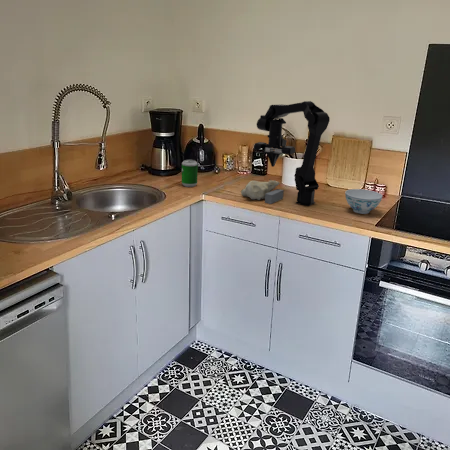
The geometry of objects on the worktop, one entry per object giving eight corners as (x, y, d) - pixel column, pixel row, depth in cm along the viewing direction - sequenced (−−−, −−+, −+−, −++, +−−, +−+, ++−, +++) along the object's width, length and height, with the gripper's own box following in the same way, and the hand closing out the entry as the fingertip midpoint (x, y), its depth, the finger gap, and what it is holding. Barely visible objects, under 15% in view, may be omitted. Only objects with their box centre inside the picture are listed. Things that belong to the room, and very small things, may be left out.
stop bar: (282, 198, 207) (283, 190, 206) (270, 204, 199) (271, 195, 198) (277, 197, 209) (277, 188, 208) (264, 202, 200) (265, 193, 199)
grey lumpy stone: (237, 204, 203) (262, 188, 194) (233, 190, 206) (257, 173, 196) (260, 209, 214) (284, 194, 204) (256, 195, 216) (280, 180, 207)
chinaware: (335, 207, 198) (338, 190, 196) (364, 204, 204) (366, 188, 201) (357, 218, 185) (360, 200, 183) (387, 215, 191) (390, 197, 188)
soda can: (200, 185, 224) (200, 160, 219) (191, 188, 217) (191, 163, 213) (187, 182, 227) (188, 158, 223) (178, 185, 221) (178, 161, 217)
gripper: (301, 133, 211) (298, 166, 216) (265, 128, 221) (263, 161, 226) (291, 136, 202) (288, 170, 208) (254, 131, 212) (252, 164, 217)
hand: (272, 166), depth 215 cm, fingers closed
